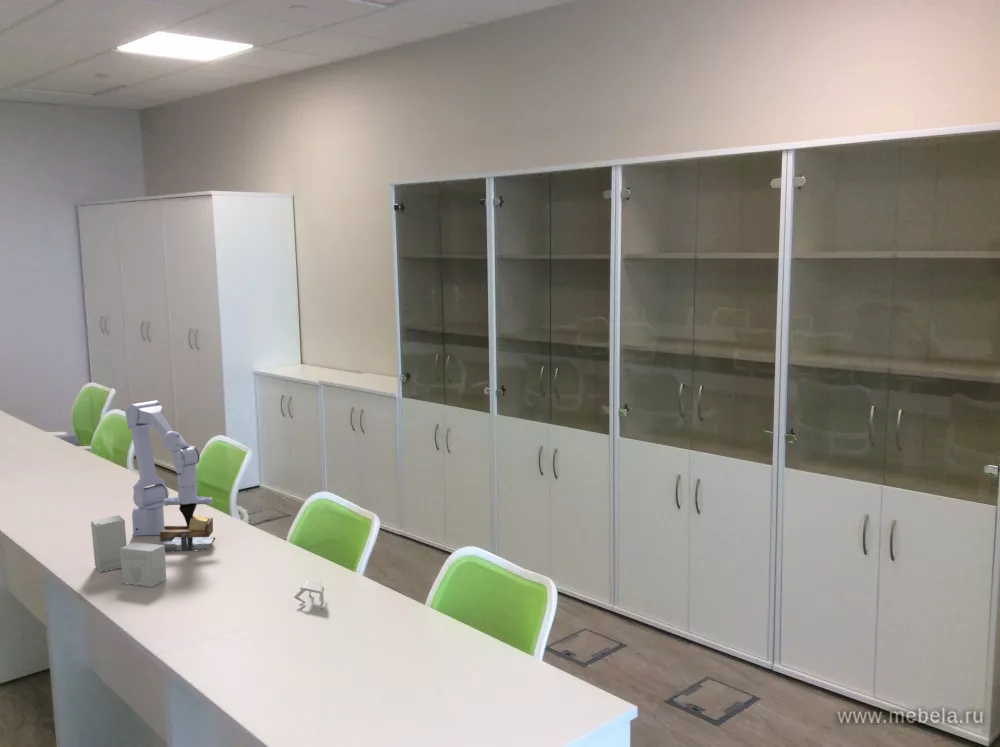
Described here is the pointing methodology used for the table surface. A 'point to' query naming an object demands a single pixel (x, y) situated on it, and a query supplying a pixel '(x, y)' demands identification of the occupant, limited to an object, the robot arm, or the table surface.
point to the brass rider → (198, 523)
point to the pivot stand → (187, 543)
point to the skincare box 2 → (143, 564)
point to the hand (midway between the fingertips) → (189, 526)
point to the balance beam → (184, 532)
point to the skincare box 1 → (108, 542)
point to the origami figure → (311, 587)
